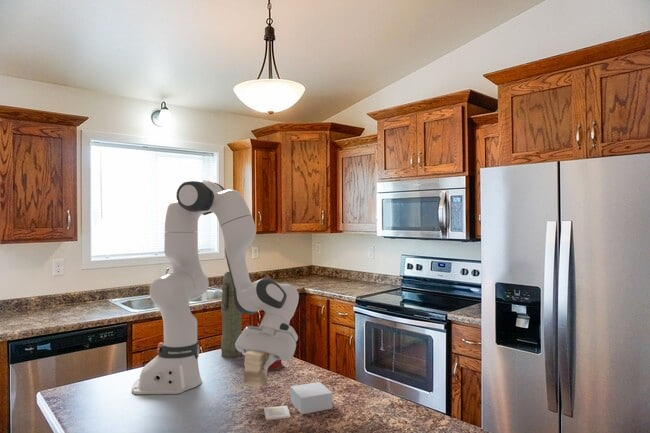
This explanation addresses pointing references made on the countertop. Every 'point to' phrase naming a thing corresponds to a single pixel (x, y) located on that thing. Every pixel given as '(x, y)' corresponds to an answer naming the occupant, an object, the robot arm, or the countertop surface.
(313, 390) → the grey-blue block
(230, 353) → the thermos
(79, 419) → the countertop surface
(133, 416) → the countertop surface
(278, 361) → the canned food
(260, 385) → the maple block
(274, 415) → the picture tile
